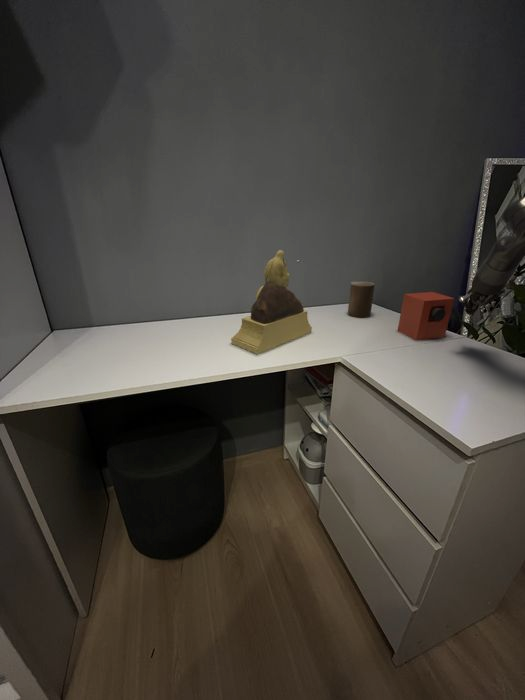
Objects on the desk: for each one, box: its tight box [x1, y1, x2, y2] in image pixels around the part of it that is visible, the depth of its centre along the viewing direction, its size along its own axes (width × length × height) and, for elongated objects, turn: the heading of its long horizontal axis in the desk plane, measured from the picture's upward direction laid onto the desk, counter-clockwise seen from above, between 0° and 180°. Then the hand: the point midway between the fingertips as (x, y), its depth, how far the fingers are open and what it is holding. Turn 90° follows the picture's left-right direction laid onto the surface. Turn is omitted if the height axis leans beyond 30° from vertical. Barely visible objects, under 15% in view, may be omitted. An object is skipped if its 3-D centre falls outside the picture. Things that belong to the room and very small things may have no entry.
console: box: [397, 291, 455, 341], centre depth 107 cm, size 10×12×14 cm
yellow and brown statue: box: [230, 249, 313, 355], centre depth 101 cm, size 28×13×30 cm, turn 134°
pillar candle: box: [347, 280, 376, 319], centre depth 128 cm, size 10×10×15 cm
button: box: [430, 308, 446, 322], centre depth 101 cm, size 2×4×4 cm, turn 104°
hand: (469, 312), depth 94 cm, fingers closed
